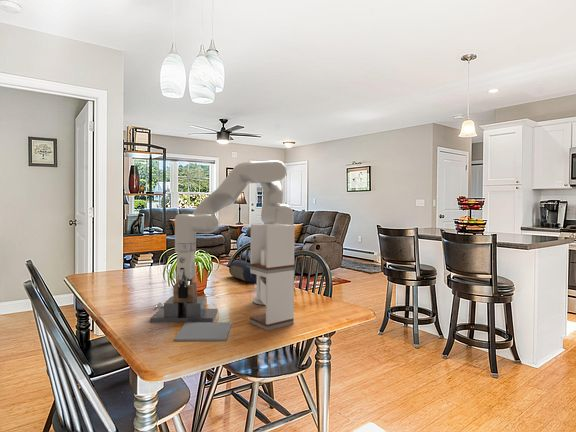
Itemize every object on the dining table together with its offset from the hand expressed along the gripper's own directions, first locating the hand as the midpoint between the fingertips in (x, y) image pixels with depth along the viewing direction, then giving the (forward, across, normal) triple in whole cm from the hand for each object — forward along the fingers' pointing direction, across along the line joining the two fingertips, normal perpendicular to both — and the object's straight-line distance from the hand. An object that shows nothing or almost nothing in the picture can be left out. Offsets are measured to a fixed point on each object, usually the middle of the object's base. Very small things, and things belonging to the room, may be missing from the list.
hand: (185, 295), depth 139 cm
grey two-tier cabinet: (+8, -7, -32) cm, 34 cm away
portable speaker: (+9, +68, -16) cm, 70 cm away
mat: (+8, -16, -10) cm, 21 cm away
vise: (+8, 0, 0) cm, 8 cm away
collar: (+2, 0, 0) cm, 2 cm away
